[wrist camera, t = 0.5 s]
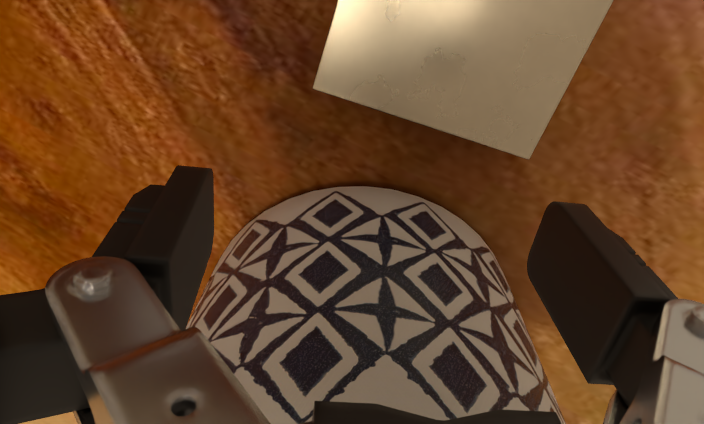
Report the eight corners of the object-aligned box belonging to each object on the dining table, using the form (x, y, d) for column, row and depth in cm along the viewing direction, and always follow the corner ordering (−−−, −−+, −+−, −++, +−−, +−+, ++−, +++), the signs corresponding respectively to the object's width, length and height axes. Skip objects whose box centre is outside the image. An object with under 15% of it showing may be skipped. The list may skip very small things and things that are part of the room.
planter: (197, 171, 27) (-1, 432, 13) (535, 188, 27) (729, 471, 12) (224, 407, 36) (124, 725, 21) (480, 420, 35) (558, 750, 21)
